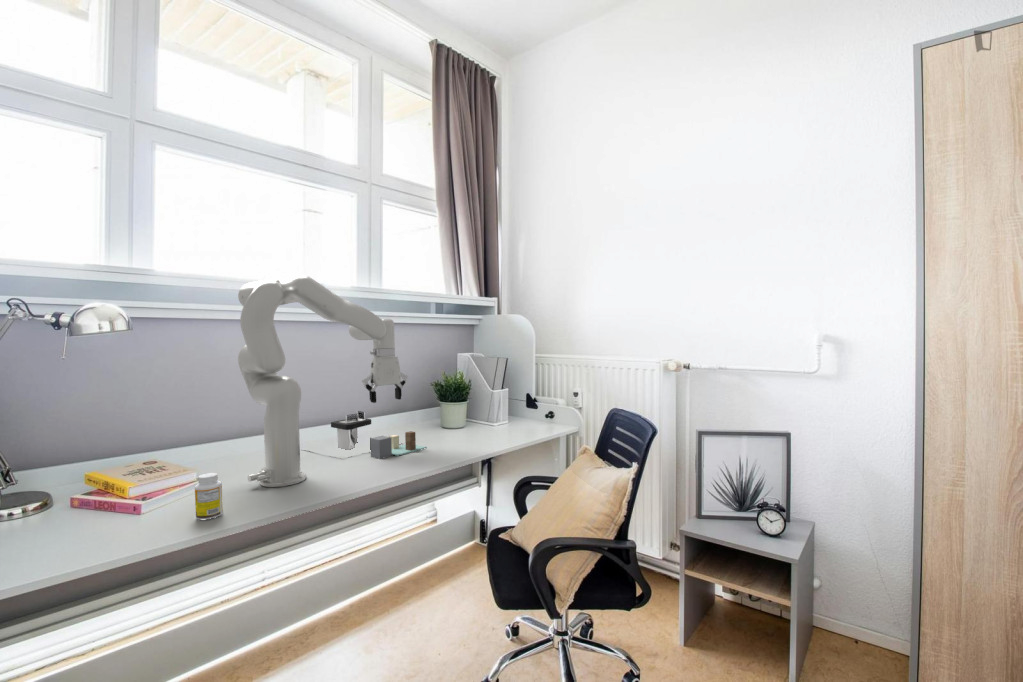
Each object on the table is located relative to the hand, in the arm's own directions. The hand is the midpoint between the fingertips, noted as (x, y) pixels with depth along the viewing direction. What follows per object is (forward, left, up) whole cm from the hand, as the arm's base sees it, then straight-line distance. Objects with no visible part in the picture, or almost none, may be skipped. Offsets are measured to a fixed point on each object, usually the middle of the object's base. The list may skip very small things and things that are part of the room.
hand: (386, 400), depth 174 cm
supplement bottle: (-63, -12, -20) cm, 67 cm away
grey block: (-3, 0, -20) cm, 20 cm away
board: (+7, 0, -20) cm, 21 cm away
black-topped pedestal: (0, +21, -20) cm, 29 cm away
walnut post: (+8, -3, -20) cm, 21 cm away
